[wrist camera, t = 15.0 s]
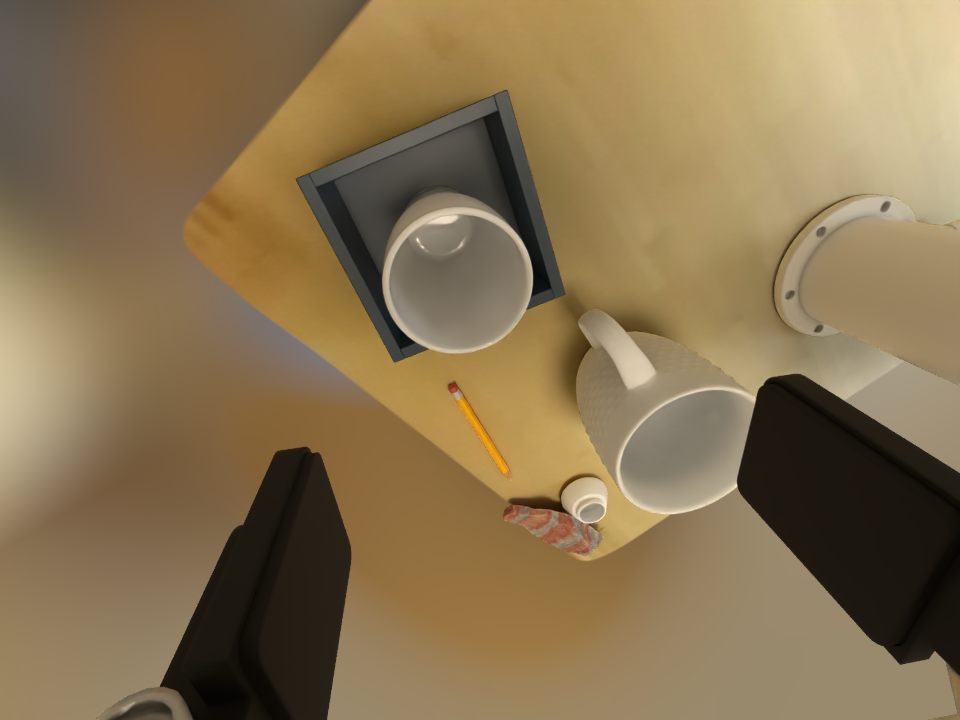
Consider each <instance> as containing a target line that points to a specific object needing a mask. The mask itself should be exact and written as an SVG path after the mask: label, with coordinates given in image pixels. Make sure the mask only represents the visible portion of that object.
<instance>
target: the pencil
mask: <svg viewBox="0 0 960 720" xmlns="http://www.w3.org/2000/svg"><path fill="white" fill-rule="evenodd" d="M448 389H449V391H450V393H451V394H452V396H453V397H454V399H455V400H456V402H457V403H458V405H459V407H460V408H461V410H462V411H463V413H464V414H465V416H466V417H467V419H468V421H469V422H470V424H471V425H472V427H473V428H474V430H475V431H476V433H477V435H478V436H479V438H480V439H481V441H482V442H483V444H484V445H485V447H486V449H487V450H488V452H489V453H490V455H491V456H492V458H493V459H494V461H495V463H496V464H497V466H498V467H499V469H500V470H501V472H502V473H503V474H504V475H505V476H506V477H507V478H509V479H510V480H511V481H512V478H511V475H510V472H509V468H508V467H507V465H506V464H505V462H504V460H503V459H502V457H501V456H500V454H499V452H498V451H497V449H496V448H495V446H494V444H493V443H492V441H491V440H490V438H489V436H488V435H487V433H486V432H485V430H484V428H483V427H482V425H481V424H480V422H479V420H478V419H477V417H476V416H475V414H474V413H473V411H472V409H471V408H470V406H469V405H468V403H467V401H466V400H465V398H464V397H463V395H462V393H461V392H460V390H459V389H458V387H457V385H456V384H452V385H450V386H449V388H448Z"/></svg>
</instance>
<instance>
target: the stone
mask: <svg viewBox="0 0 960 720" xmlns="http://www.w3.org/2000/svg"><path fill="white" fill-rule="evenodd" d="M503 519H504V520H505V521H509V522H512V523H516V524H520V525H521V526H524V527H525V528H526V529H527V530H529V531H530V532H531V533H532V534H534V535H535V536H537V537H538V538H540V539H542V540H544V541H546V542H547V543H549V544H552V545H553V546H554V547H556V548H560V549H562V550H565V551H567V552H573V553H578V554H581V555H583V556H587V555H588V556H589V555H590V554H591V552H592V551H593V549H595V548H596V547H598V546H599V545H600V543H601V542H602V540H603V534H602V533H599V532H597V531H596V530H594V528H592V527H591V526H590V525H587V524H585V523H583V522H581V521H580V520H579V519H577V518H575V517H574V516H572V515H568V514H566V513H561V512H556V511H553V510H550V509H546V510H545V509H532V508H530V507H527V506H520V505H511V506H509V507H507V508H506V509H505V511H504V514H503Z"/></svg>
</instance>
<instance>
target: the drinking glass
mask: <svg viewBox="0 0 960 720" xmlns="http://www.w3.org/2000/svg"><path fill="white" fill-rule="evenodd" d="M382 287H383V295H384V299H385V303H386V306H387V308H388V311H389V313H390V315H391V317H392V318H393V320H394V322H395V323H396V324H397V326H398V327H399V328H400V329H401V330H402V331H403V332H404V333H405V334H406V335H407V336H408V337H409V338H411V339H412V340H413V341H415V342H416V343H418V344H420V345H422V346H424V347H426V348H428V349H431V350H434V351H437V352H442V353H450V354H462V353H470V352H475V351H479V350H481V349H484V348H487V347H489V346H491V345H493V344H495V343H496V342H498V341H500V340H501V339H502V338H504V337H505V336H506V335H507V334H509V333H510V332H511V331H512V330H513V329H514V327H515V326H516V325H517V324H518V322H519V321H520V320H521V318H522V316H523V315H524V313H525V311H526V309H527V307H528V304H529V301H530V298H531V294H532V287H533V270H532V264H531V260H530V257H529V254H528V251H527V249H526V247H525V245H524V243H523V242H522V240H521V238H520V237H519V236H518V234H517V233H516V232H515V230H514V229H513V228H512V227H511V225H510V224H509V223H508V222H507V221H506V220H505V219H504V218H503V217H502V216H501V215H500V214H499V213H498V212H497V211H495V210H494V209H493V208H492V207H490V206H489V205H487V204H486V203H484V202H482V201H480V200H479V199H476V198H474V197H472V196H469V195H466V194H462V193H459V192H458V191H456V190H454V189H452V188H449V187H445V186H432V187H428V188H425V189H423V190H421V191H419V192H418V193H416V194H415V195H414V196H413V197H412V198H411V199H410V200H409V202H408V203H407V205H406V207H405V209H404V212H403V213H402V214H401V216H400V217H399V219H398V220H397V222H396V223H395V225H394V227H393V229H392V231H391V233H390V235H389V238H388V241H387V244H386V248H385V253H384V258H383V270H382Z"/></svg>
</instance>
